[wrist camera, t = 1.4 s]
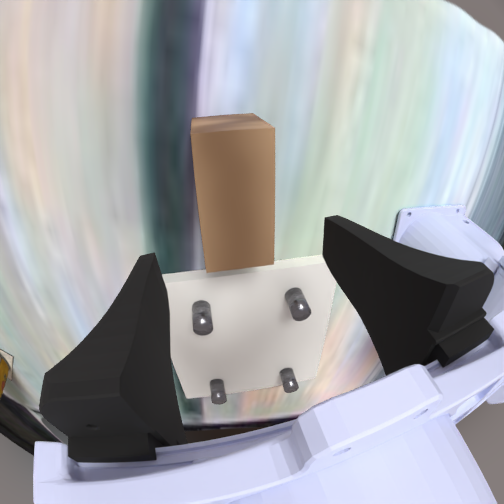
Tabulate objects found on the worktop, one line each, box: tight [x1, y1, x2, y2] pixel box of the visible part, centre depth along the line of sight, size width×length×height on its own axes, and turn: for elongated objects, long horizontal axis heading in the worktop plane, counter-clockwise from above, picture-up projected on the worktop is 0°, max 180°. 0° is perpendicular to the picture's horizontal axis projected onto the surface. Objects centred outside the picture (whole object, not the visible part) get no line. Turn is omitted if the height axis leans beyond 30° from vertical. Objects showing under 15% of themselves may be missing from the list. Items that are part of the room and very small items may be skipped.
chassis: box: [162, 254, 336, 404], centre depth 28 cm, size 16×18×4 cm
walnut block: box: [191, 113, 275, 273], centre depth 18 cm, size 4×8×6 cm, turn 2°
